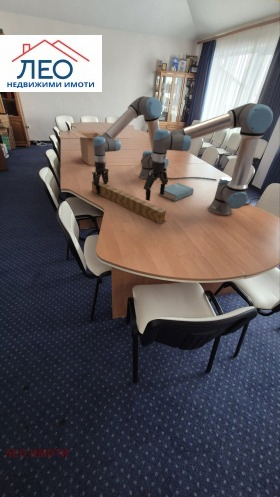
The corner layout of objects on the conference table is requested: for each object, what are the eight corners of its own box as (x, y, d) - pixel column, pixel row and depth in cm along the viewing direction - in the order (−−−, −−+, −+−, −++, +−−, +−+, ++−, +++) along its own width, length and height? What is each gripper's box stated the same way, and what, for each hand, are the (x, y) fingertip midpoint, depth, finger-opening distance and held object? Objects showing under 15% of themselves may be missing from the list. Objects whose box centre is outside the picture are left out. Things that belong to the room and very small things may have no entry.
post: (92, 191, 172) (91, 181, 167) (97, 189, 175) (96, 180, 171) (159, 223, 138) (161, 212, 133) (164, 221, 141) (166, 210, 136)
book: (176, 188, 187) (177, 182, 184) (192, 194, 178) (193, 188, 175) (159, 194, 174) (160, 188, 171) (175, 201, 165) (176, 195, 162)
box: (116, 165, 229) (116, 136, 213) (83, 168, 214) (80, 137, 198) (102, 154, 259) (101, 128, 243) (71, 156, 244) (68, 129, 228)
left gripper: (93, 164, 148) (95, 197, 162) (113, 160, 159) (113, 191, 173) (86, 162, 152) (88, 194, 165) (106, 158, 163) (107, 188, 177)
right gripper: (149, 166, 112) (146, 204, 125) (177, 159, 128) (171, 193, 141) (138, 163, 116) (136, 200, 129) (166, 156, 132) (162, 190, 144)
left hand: (101, 192), depth 169 cm, fingers closed on post, 5 cm apart
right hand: (154, 197), depth 135 cm, fingers open, 13 cm apart
